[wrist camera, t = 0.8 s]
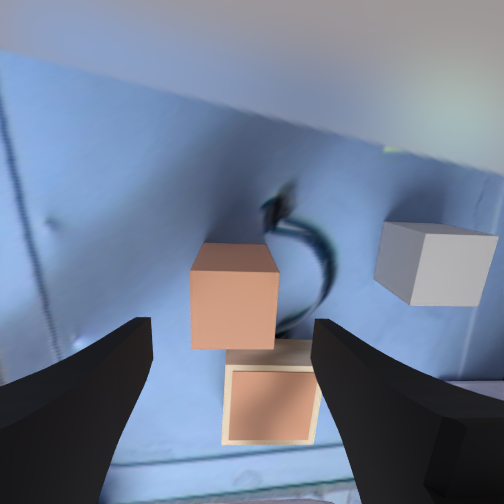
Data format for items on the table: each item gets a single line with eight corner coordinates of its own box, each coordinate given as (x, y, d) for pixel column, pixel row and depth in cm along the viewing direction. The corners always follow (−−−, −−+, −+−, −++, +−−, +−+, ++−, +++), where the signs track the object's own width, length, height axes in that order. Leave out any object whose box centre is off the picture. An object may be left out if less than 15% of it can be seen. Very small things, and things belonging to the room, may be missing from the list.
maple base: (312, 337, 22) (326, 366, 19) (302, 406, 24) (313, 445, 20) (226, 335, 21) (225, 365, 18) (223, 406, 23) (221, 445, 20)
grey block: (441, 223, 20) (499, 236, 15) (427, 280, 21) (477, 306, 17) (383, 221, 19) (426, 233, 15) (372, 278, 21) (409, 305, 16)
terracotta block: (266, 244, 19) (279, 272, 14) (262, 301, 20) (273, 349, 15) (203, 242, 19) (190, 270, 13) (203, 300, 20) (191, 349, 14)
